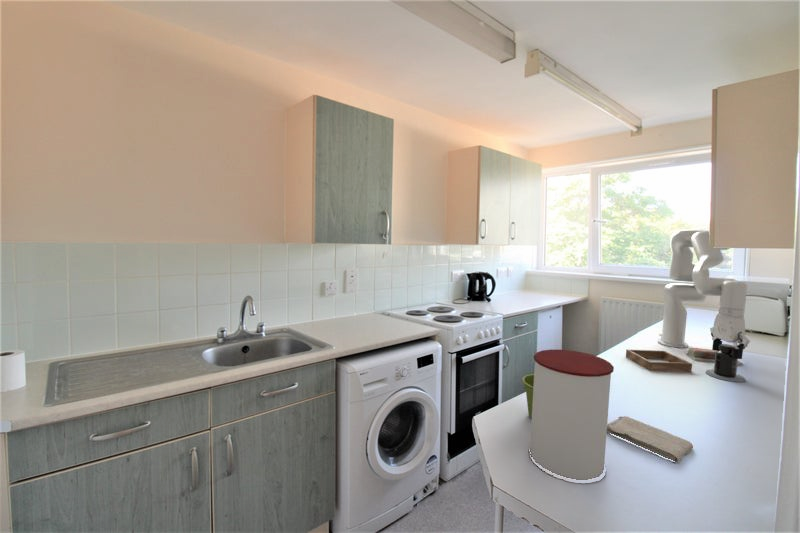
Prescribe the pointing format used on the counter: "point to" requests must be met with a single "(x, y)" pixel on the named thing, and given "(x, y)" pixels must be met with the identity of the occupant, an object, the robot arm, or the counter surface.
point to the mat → (732, 379)
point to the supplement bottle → (725, 361)
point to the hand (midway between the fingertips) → (726, 354)
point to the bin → (671, 365)
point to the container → (570, 413)
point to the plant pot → (529, 391)
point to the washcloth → (650, 438)
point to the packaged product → (703, 355)
